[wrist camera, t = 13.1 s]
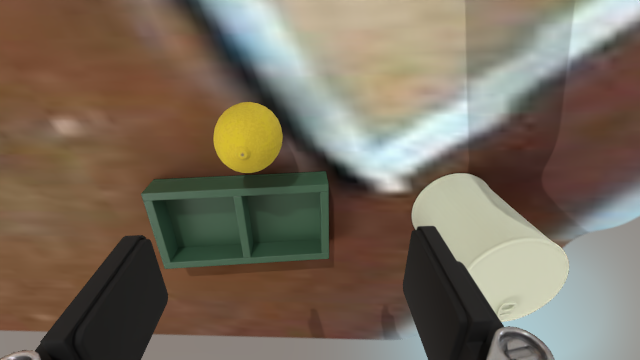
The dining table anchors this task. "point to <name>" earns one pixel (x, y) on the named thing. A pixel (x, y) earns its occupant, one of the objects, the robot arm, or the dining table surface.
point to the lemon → (247, 137)
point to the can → (493, 244)
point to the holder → (239, 218)
